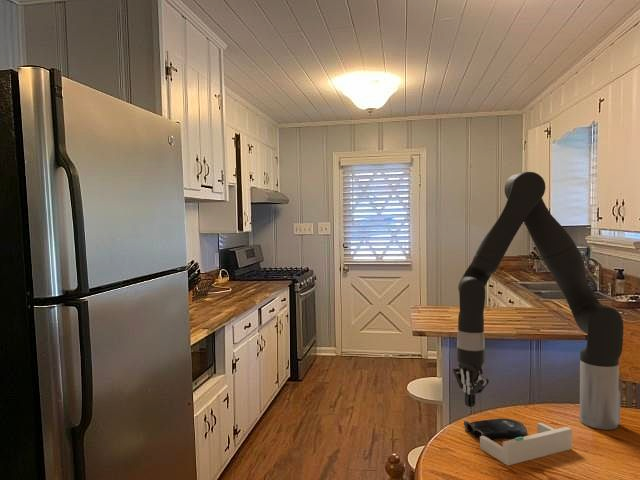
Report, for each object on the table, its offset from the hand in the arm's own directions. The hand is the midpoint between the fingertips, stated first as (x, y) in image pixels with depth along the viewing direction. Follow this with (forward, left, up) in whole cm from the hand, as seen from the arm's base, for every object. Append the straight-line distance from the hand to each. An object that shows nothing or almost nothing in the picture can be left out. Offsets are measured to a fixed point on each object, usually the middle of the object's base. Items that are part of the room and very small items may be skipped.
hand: (469, 405), depth 136 cm
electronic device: (0, +11, -4) cm, 12 cm away
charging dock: (0, +20, -4) cm, 21 cm away
